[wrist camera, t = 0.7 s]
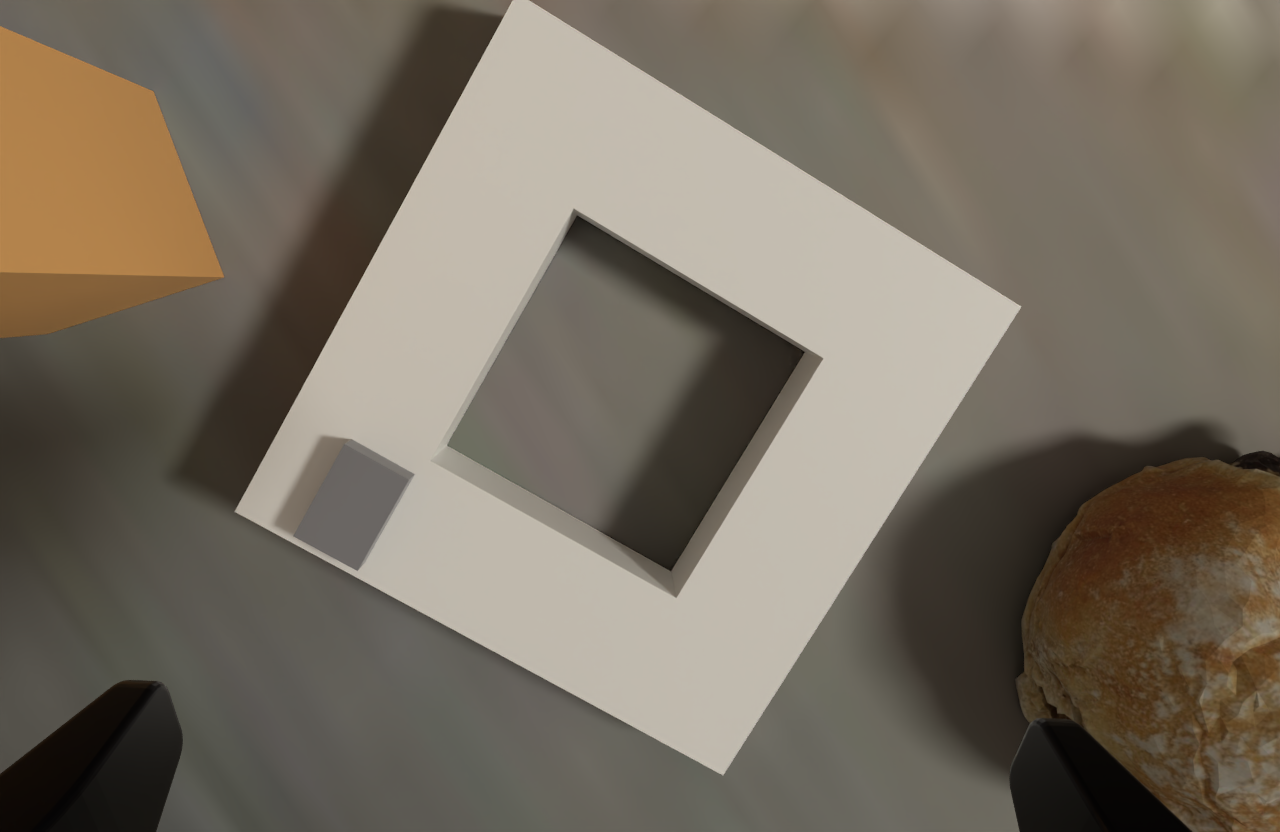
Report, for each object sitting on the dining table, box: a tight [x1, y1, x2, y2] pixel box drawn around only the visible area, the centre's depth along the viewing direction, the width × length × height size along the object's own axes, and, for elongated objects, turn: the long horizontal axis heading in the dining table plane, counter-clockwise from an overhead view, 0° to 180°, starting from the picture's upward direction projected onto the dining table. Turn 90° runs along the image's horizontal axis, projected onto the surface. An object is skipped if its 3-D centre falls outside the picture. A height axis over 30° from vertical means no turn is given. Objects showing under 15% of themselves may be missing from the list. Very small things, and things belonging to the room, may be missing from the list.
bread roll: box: [1015, 451, 1280, 832], centre depth 22 cm, size 10×10×8 cm
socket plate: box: [235, 0, 1021, 775], centre depth 21 cm, size 13×13×3 cm
